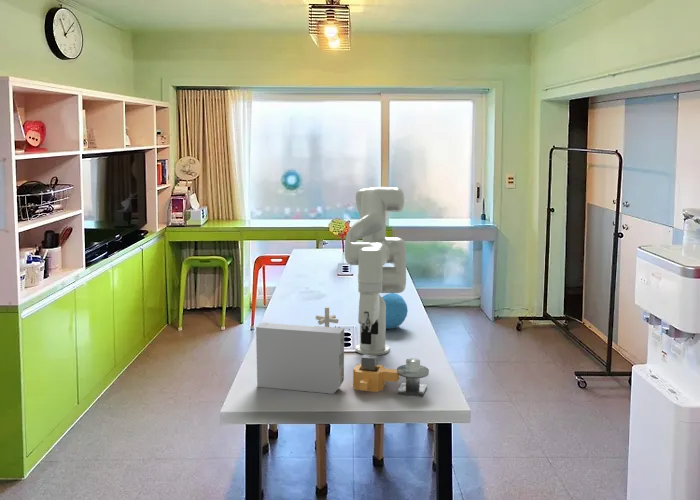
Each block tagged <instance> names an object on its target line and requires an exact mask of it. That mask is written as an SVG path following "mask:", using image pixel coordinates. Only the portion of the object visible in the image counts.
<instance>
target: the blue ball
mask: <svg viewBox="0 0 700 500" xmlns="http://www.w3.org/2000/svg"><path fill="white" fill-rule="evenodd" d="M381 297H382V298H383V300H384V301H385V304H386V329H387V330H388V329H394V328H398V327H400V325H402V324H403V323H404V321H406V318H407V316H408V313H409V312H408V304H407V302H406V301H405V300H404V298H403V296H402V295H400V294H399V293H386V294H385V295H383V296H381Z"/></svg>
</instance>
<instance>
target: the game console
mask: <svg viewBox="0 0 700 500" xmlns="http://www.w3.org/2000/svg"><path fill="white" fill-rule="evenodd" d="M255 330H256V331H255V337H256V339H255V340H256V342H255V343H256V344H255V345H256V346H255V347H256V383H257V385H256V387H257V388H267V389H268V388H269V389H276V390H277V389H279V390H289V391H298V392H299V391H300V392H301V391H302V392H310V393H323V394H332V395H333V394H335V393H336V392H337V390H339V388H341V386H342V384H343V382H344V381H345V328H344V327H332V326H331V327H330V326H329V327H325V326H321V325H320V326H319V325H314V326H312V325H311V326H310V325H298V324H297V325H296V324H284V323H282V324H281V323H269V322H261V323H259V324H258V325H257V326H255Z"/></svg>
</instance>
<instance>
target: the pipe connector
mask: <svg viewBox="0 0 700 500" xmlns="http://www.w3.org/2000/svg"><path fill="white" fill-rule="evenodd" d="M315 320H316V321H317V324H318V326H319V325H320V326H321V325H323V324H324V327H330V323H332V324H338V323H339V319H338V318H336V315H335V314H331V315H330V307H329V306H325V307H324V315H318V314H317V315H315Z"/></svg>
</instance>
